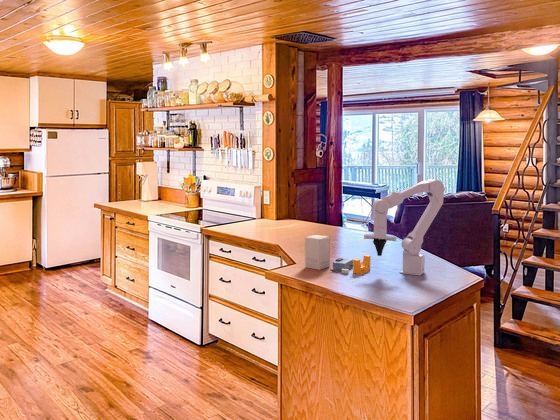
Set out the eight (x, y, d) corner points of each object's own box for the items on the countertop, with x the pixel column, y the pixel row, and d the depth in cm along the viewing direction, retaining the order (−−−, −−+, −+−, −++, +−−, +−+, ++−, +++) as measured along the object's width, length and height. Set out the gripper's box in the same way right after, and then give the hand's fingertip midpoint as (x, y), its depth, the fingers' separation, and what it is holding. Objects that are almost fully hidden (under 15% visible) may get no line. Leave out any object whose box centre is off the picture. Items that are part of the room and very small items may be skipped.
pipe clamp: (361, 274, 221) (361, 261, 220) (353, 273, 223) (353, 259, 222) (373, 269, 230) (373, 256, 229) (365, 268, 233) (365, 254, 232)
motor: (361, 266, 236) (361, 257, 235) (347, 274, 221) (347, 264, 221) (342, 263, 241) (342, 255, 240) (327, 271, 226) (327, 262, 226)
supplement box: (330, 266, 235) (330, 236, 233) (319, 270, 229) (319, 239, 227) (315, 263, 241) (315, 234, 240) (304, 267, 235) (304, 236, 233)
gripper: (398, 225, 220) (397, 255, 222) (367, 223, 226) (366, 252, 228) (394, 228, 214) (393, 258, 215) (362, 225, 220) (362, 255, 222)
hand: (379, 255), depth 221 cm, fingers closed
